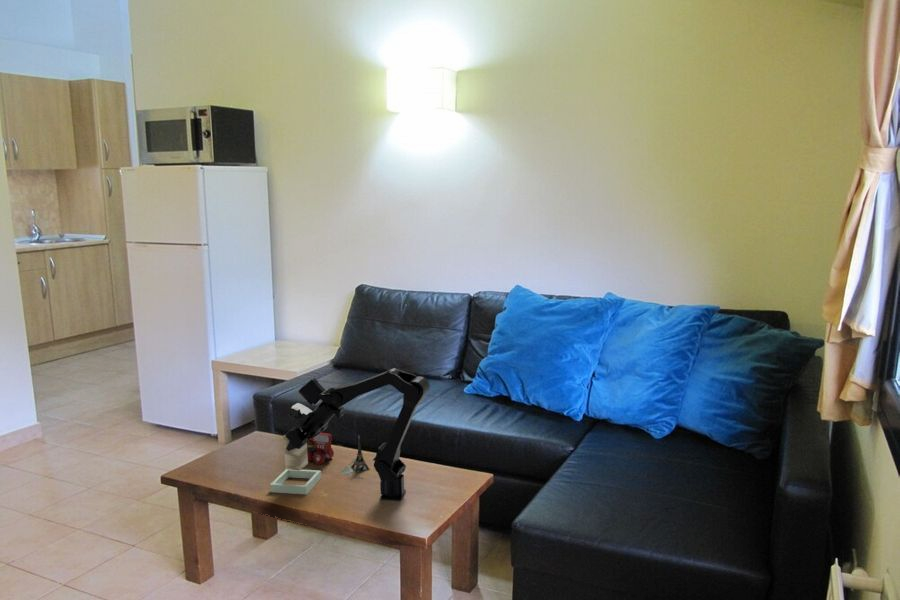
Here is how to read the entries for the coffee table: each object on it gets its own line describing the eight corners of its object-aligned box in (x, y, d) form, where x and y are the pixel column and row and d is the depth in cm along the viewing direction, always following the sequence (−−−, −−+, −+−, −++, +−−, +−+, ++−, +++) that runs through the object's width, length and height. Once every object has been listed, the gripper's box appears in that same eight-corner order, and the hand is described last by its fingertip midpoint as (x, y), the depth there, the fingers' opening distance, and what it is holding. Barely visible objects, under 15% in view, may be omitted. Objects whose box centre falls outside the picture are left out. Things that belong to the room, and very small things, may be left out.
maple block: (307, 463, 215) (306, 431, 214) (299, 470, 210) (297, 437, 208) (294, 462, 217) (292, 430, 215) (285, 469, 211) (283, 435, 210)
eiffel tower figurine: (354, 460, 235) (353, 423, 233) (381, 463, 233) (380, 426, 231) (335, 477, 221) (334, 438, 219) (363, 480, 218) (362, 441, 216)
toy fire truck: (309, 453, 241) (308, 426, 239) (337, 459, 235) (336, 430, 234) (297, 460, 235) (295, 432, 233) (326, 466, 229) (324, 437, 228)
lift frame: (321, 477, 219) (320, 470, 219) (306, 494, 207) (306, 486, 207) (286, 475, 222) (286, 468, 221) (270, 492, 209) (270, 484, 209)
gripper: (317, 388, 218) (289, 418, 222) (289, 405, 200) (259, 438, 204) (340, 413, 217) (311, 443, 221) (314, 432, 199) (283, 464, 204)
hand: (291, 446), depth 213 cm, fingers closed on maple block, 5 cm apart
